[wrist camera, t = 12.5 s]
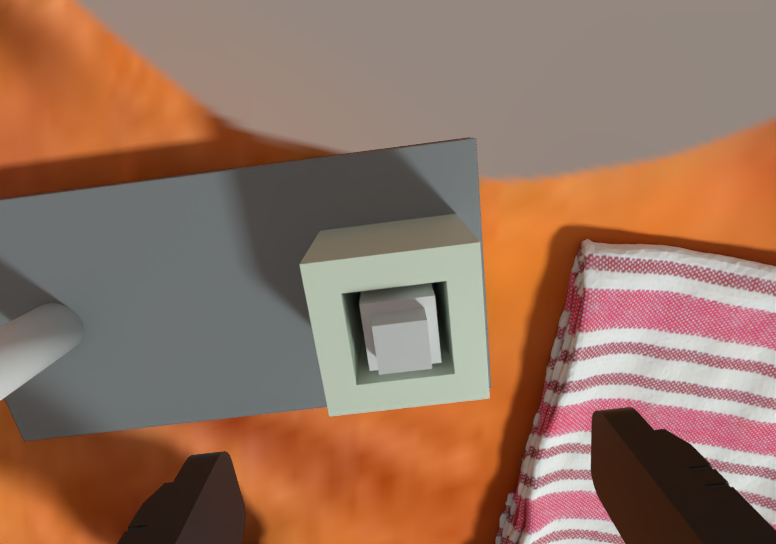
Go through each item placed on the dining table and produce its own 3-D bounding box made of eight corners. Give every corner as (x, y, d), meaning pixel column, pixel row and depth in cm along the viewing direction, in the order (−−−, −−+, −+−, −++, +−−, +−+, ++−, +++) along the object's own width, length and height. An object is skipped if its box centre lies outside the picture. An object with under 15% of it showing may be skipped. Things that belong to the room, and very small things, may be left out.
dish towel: (478, 576, 29) (490, 635, 26) (570, 229, 22) (604, 248, 18) (727, 599, 30) (770, 658, 26) (896, 272, 22) (984, 297, 19)
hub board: (469, 137, 20) (520, 143, 12) (484, 372, 23) (530, 484, 16) (-50, 205, 20) (-293, 249, 13) (45, 422, 24) (-102, 551, 17)
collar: (456, 213, 19) (479, 242, 14) (465, 337, 21) (489, 398, 16) (319, 230, 19) (299, 264, 15) (341, 351, 21) (329, 416, 17)
